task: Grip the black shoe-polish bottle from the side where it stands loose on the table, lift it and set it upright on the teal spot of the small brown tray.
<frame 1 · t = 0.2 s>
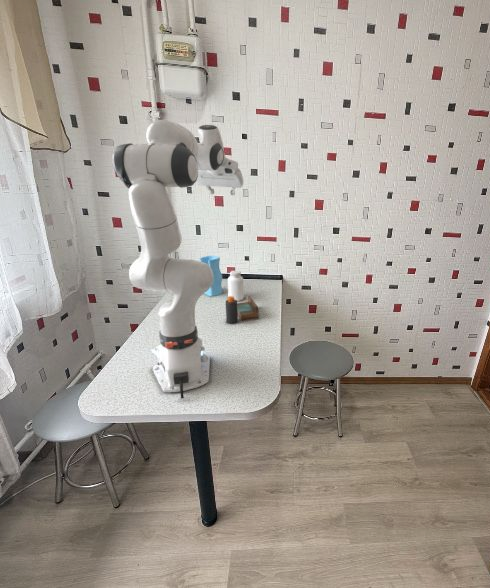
hand: (222, 193, 149), 54 cm above the table, tool tilted 30°, fingers open, 8 cm apart
brown tray: (246, 313, 159), on the table
pill bottle: (236, 299, 176), on the table
polish bottle: (232, 321, 151), on the table
vase: (212, 293, 181), on the table
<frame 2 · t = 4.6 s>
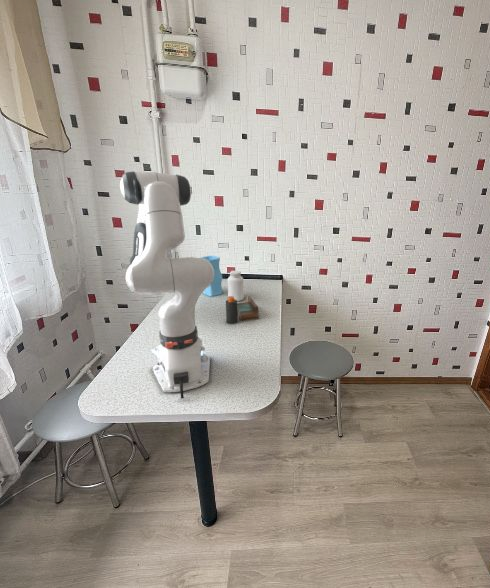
hand: (205, 276, 146), 20 cm above the table, tool horizontal, fingers open, 8 cm apart
nothing on the table moved.
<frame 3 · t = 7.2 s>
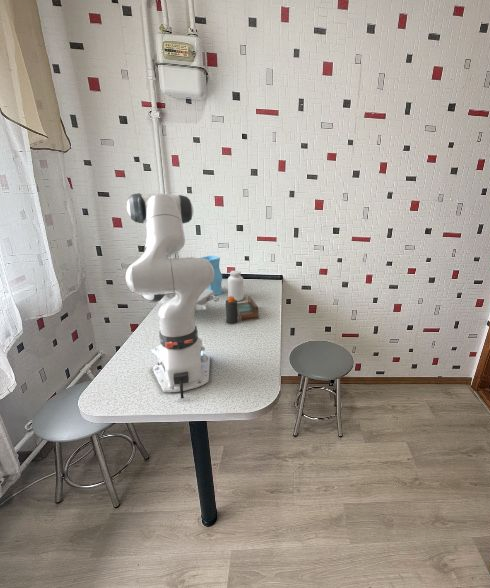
hand: (212, 303, 150), 8 cm above the table, tool horizontal, fingers open, 8 cm apart
nothing on the table moved.
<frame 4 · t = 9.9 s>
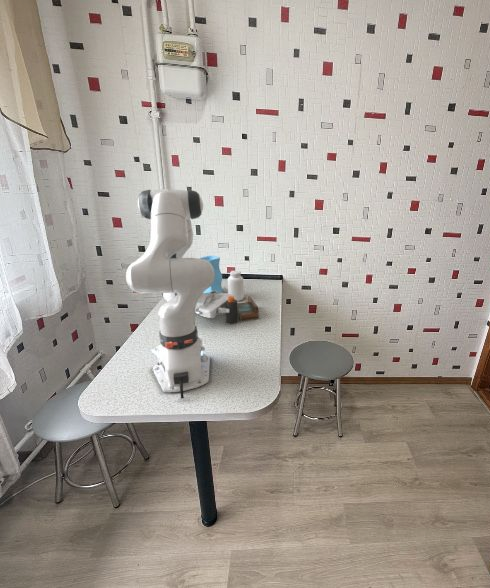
hand: (233, 307, 148), 7 cm above the table, tool horizontal, fingers closed on polish bottle, 5 cm apart
polish bottle: (232, 321, 151), on the table, touching gripper
everything else where it was.
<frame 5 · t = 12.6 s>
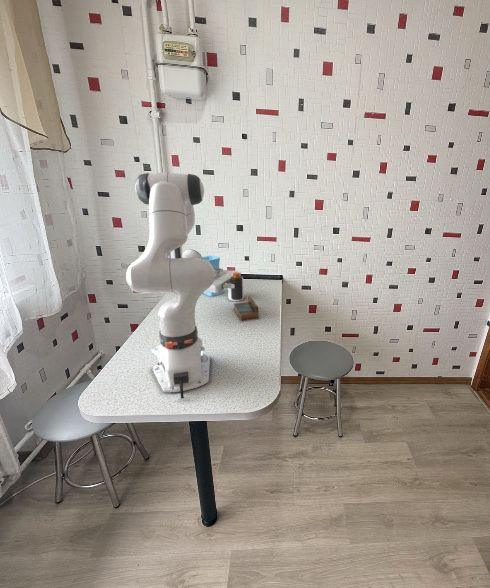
hand: (238, 283, 148), 17 cm above the table, tool horizontal, fingers closed on polish bottle, 5 cm apart
polish bottle: (237, 297, 151), point 10 cm above the table, touching gripper
everything else where it was.
when the fingers open (10 cm above the table, at t = 15.6 s): polish bottle stays where it is, resting on brown tray.
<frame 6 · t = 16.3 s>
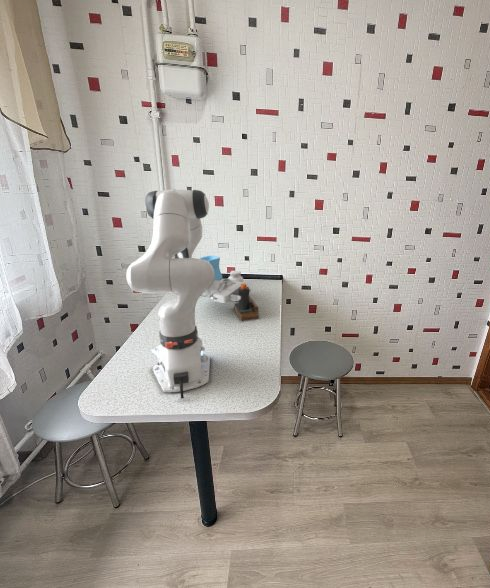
hand: (245, 294, 155), 10 cm above the table, tool horizontal, fingers open, 8 cm apart
polish bottle: (244, 307, 158), point 3 cm above the table, touching brown tray
everything else where it was.
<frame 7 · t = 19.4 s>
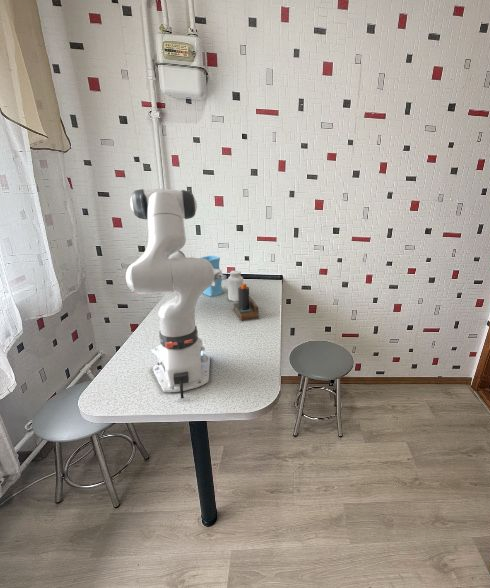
hand: (220, 280, 156), 15 cm above the table, tool horizontal, fingers open, 8 cm apart
nothing on the table moved.
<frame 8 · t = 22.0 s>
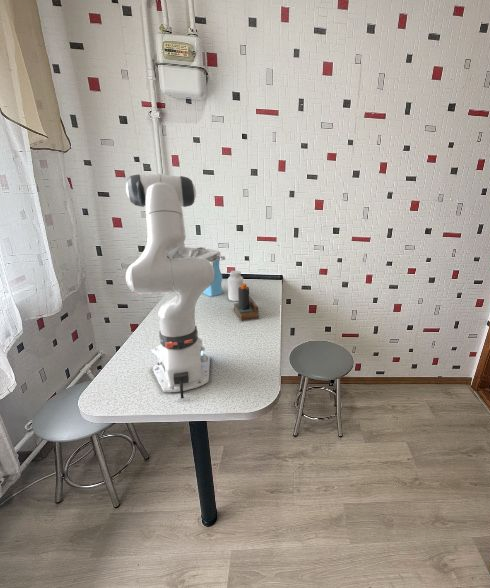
hand: (219, 261, 152), 25 cm above the table, tool horizontal, fingers open, 8 cm apart
nothing on the table moved.
at the end: polish bottle 0.1 cm from the target spot, point 3.2 cm above the table; polish bottle tilted 0°; the gripper is holding nothing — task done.
